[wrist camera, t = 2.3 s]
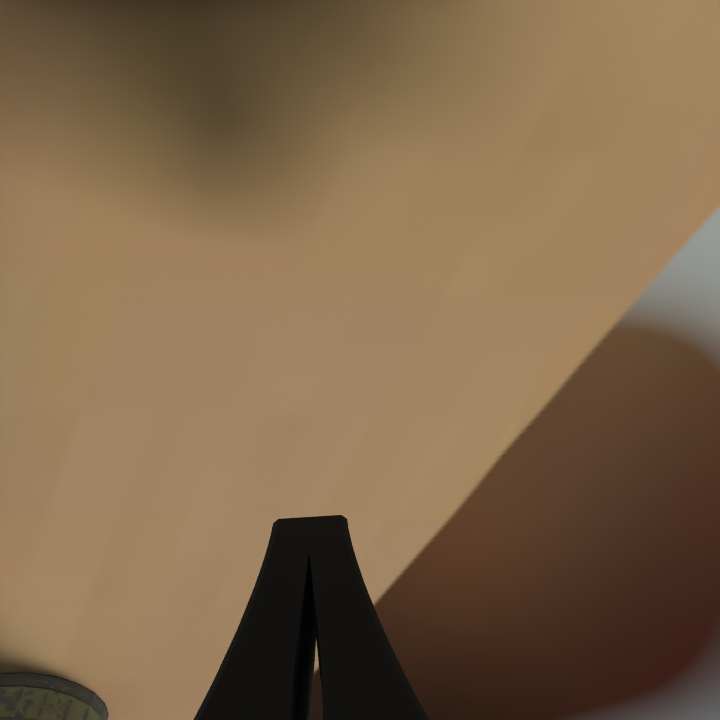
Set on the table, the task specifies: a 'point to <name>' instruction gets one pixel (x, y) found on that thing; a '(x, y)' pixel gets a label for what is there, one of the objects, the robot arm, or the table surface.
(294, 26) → the table surface
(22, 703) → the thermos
